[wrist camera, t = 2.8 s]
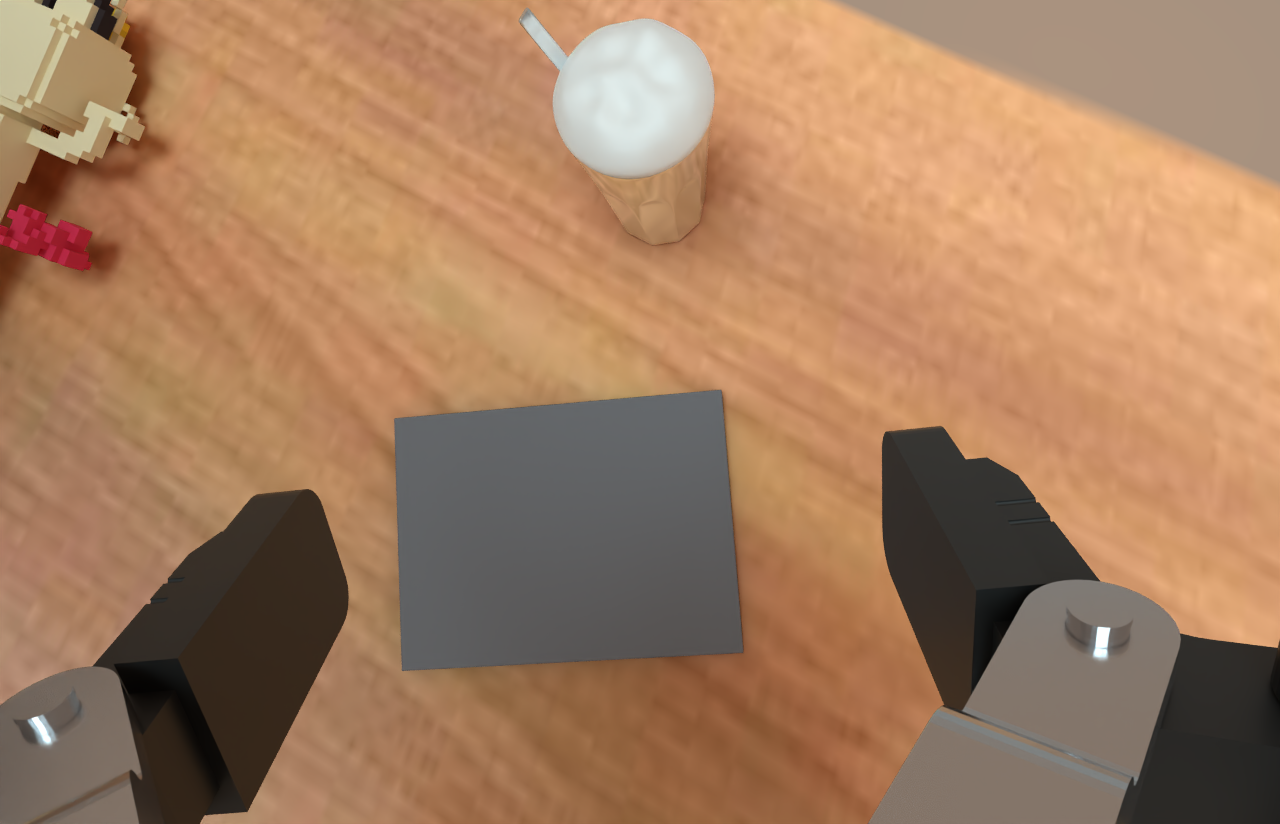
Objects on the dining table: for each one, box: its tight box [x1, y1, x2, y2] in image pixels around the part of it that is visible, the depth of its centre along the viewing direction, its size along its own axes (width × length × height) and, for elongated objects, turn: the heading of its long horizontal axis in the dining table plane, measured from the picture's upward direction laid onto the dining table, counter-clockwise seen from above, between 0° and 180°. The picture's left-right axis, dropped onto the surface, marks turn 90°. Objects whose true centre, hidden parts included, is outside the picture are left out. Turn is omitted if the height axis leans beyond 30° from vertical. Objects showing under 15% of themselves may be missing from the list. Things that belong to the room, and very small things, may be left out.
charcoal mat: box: [394, 390, 743, 671], centre depth 30 cm, size 12×9×1 cm
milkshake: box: [519, 8, 715, 245], centre depth 27 cm, size 5×5×10 cm
